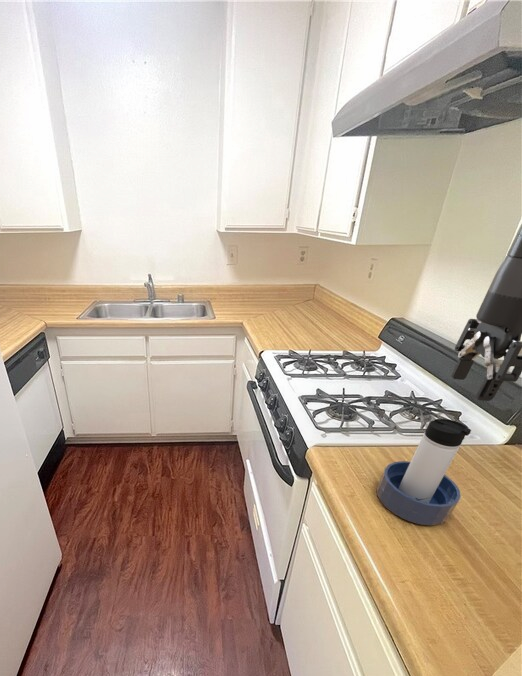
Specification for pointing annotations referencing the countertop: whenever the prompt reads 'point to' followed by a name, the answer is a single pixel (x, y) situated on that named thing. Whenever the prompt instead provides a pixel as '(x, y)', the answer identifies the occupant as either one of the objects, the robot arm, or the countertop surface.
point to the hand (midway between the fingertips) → (469, 388)
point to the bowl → (411, 507)
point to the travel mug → (432, 458)
